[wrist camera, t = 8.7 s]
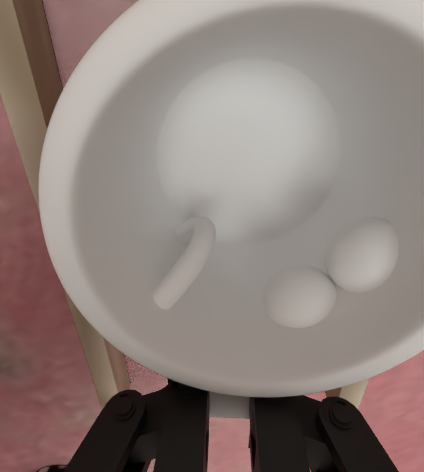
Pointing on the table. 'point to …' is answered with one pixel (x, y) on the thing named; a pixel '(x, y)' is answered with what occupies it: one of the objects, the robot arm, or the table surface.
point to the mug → (246, 190)
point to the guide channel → (30, 148)
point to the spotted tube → (53, 469)
